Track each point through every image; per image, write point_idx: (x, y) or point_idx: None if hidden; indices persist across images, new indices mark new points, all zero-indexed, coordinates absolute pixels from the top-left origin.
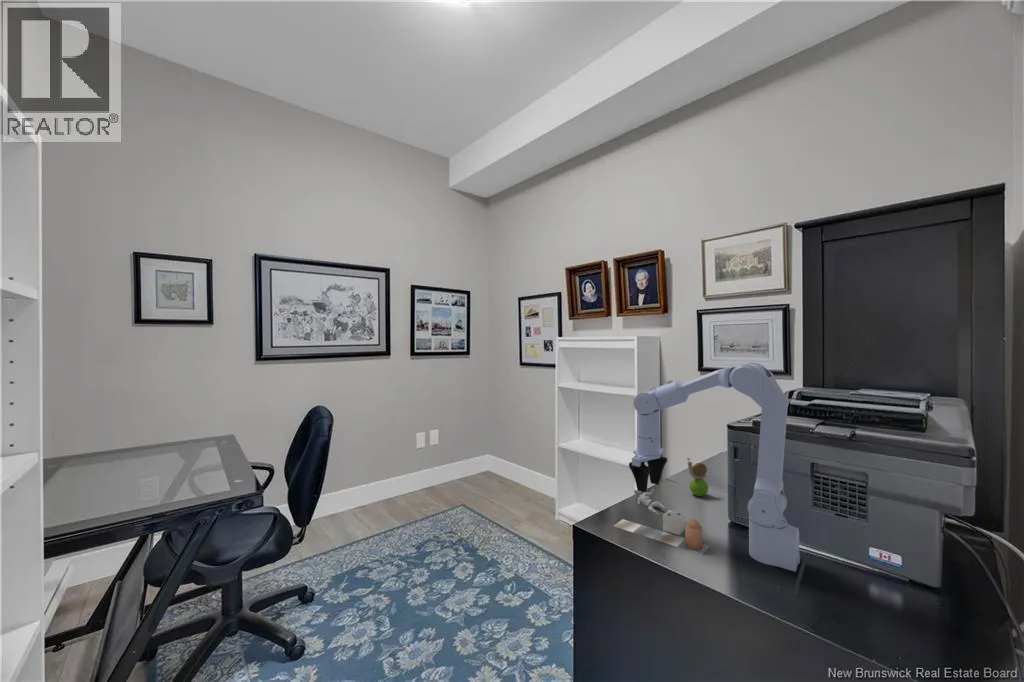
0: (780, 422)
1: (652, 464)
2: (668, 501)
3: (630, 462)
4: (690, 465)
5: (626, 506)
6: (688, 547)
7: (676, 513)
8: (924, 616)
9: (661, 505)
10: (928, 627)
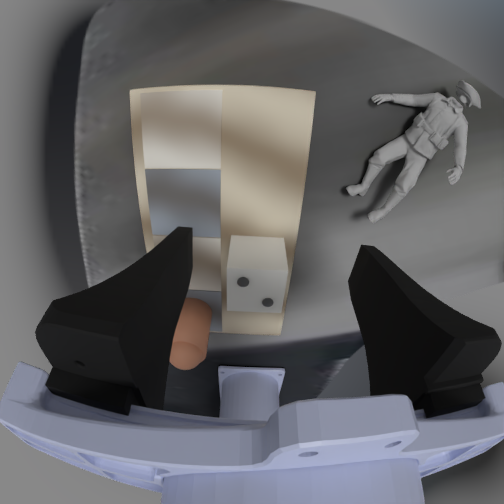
0: None
1: (402, 347)
2: (484, 182)
3: (73, 332)
4: None
5: (388, 54)
6: None
7: (271, 295)
8: None
9: (391, 201)
10: None
